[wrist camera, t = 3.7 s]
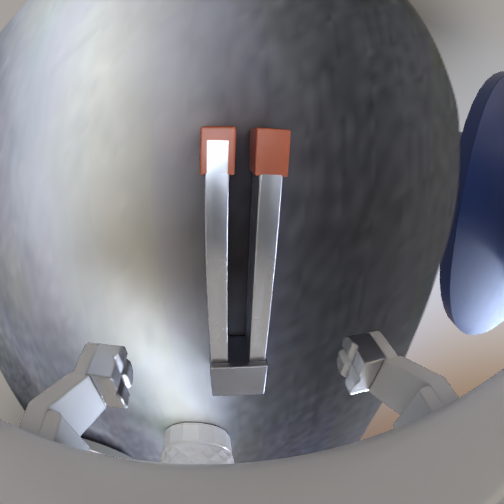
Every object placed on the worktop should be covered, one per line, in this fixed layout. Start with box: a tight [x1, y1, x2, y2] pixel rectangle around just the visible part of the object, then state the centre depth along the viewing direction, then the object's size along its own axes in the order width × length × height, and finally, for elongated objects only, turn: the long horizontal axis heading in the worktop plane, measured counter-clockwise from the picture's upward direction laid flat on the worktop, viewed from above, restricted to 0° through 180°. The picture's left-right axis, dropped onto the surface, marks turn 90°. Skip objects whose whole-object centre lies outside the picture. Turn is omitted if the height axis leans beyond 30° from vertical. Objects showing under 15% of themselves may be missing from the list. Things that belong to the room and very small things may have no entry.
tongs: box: [200, 126, 291, 396], centre depth 14 cm, size 16×4×3 cm, turn 177°
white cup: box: [160, 423, 234, 464], centre depth 18 cm, size 8×8×10 cm
